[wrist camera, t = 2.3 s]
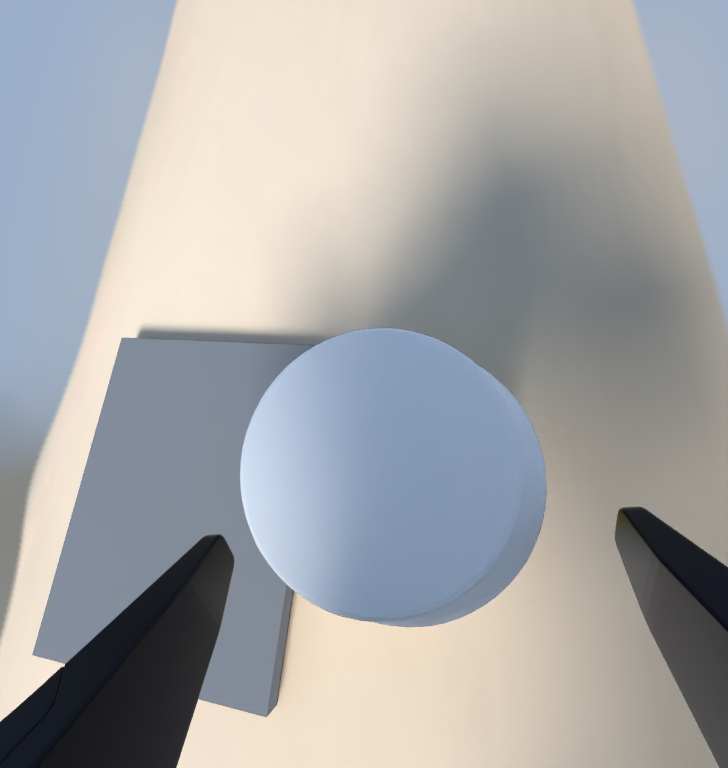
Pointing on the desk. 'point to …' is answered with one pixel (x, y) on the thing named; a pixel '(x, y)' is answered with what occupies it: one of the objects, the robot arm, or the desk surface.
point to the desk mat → (174, 507)
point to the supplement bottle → (392, 479)
